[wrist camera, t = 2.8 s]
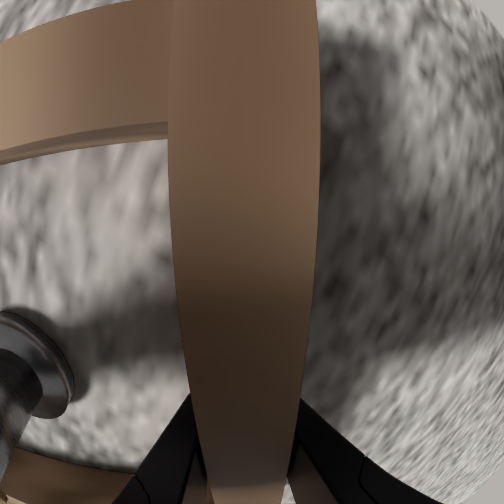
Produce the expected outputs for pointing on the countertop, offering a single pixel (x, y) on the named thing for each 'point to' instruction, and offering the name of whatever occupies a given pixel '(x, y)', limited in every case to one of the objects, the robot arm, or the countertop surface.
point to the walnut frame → (196, 205)
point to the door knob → (28, 382)
